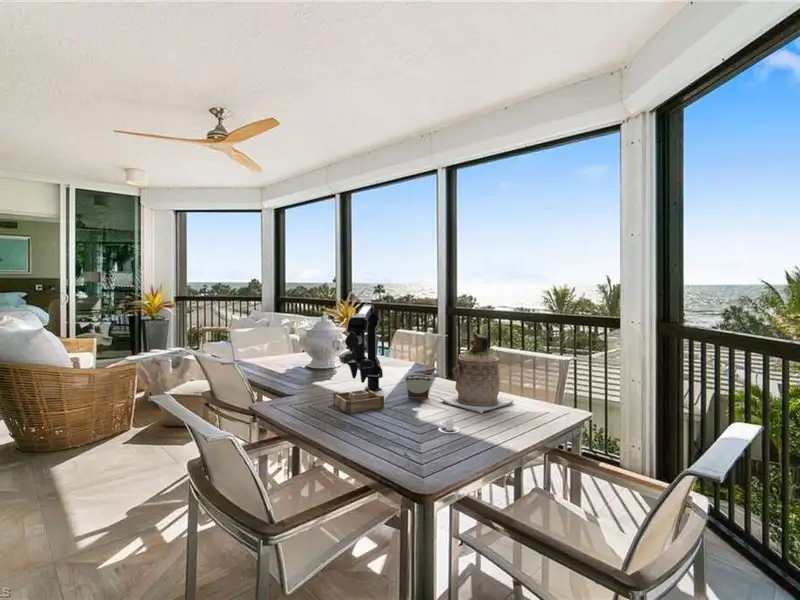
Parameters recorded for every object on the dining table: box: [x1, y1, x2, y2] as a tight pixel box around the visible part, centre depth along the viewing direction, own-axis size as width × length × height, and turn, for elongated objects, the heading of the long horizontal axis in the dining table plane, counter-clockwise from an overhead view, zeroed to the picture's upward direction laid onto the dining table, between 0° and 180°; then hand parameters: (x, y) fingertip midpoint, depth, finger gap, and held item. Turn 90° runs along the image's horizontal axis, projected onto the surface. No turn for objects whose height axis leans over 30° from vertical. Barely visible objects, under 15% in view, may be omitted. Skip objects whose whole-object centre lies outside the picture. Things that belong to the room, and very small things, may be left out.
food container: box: [404, 373, 432, 399], centre depth 210 cm, size 12×6×10 cm, turn 84°
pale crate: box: [347, 389, 369, 402], centre depth 195 cm, size 6×7×5 cm
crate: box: [333, 387, 385, 414], centre depth 195 cm, size 16×17×5 cm
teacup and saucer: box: [438, 418, 461, 434], centre depth 165 cm, size 9×8×4 cm
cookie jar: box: [439, 333, 515, 415], centre depth 199 cm, size 25×25×32 cm
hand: (358, 380), depth 194 cm, fingers open, 9 cm apart
